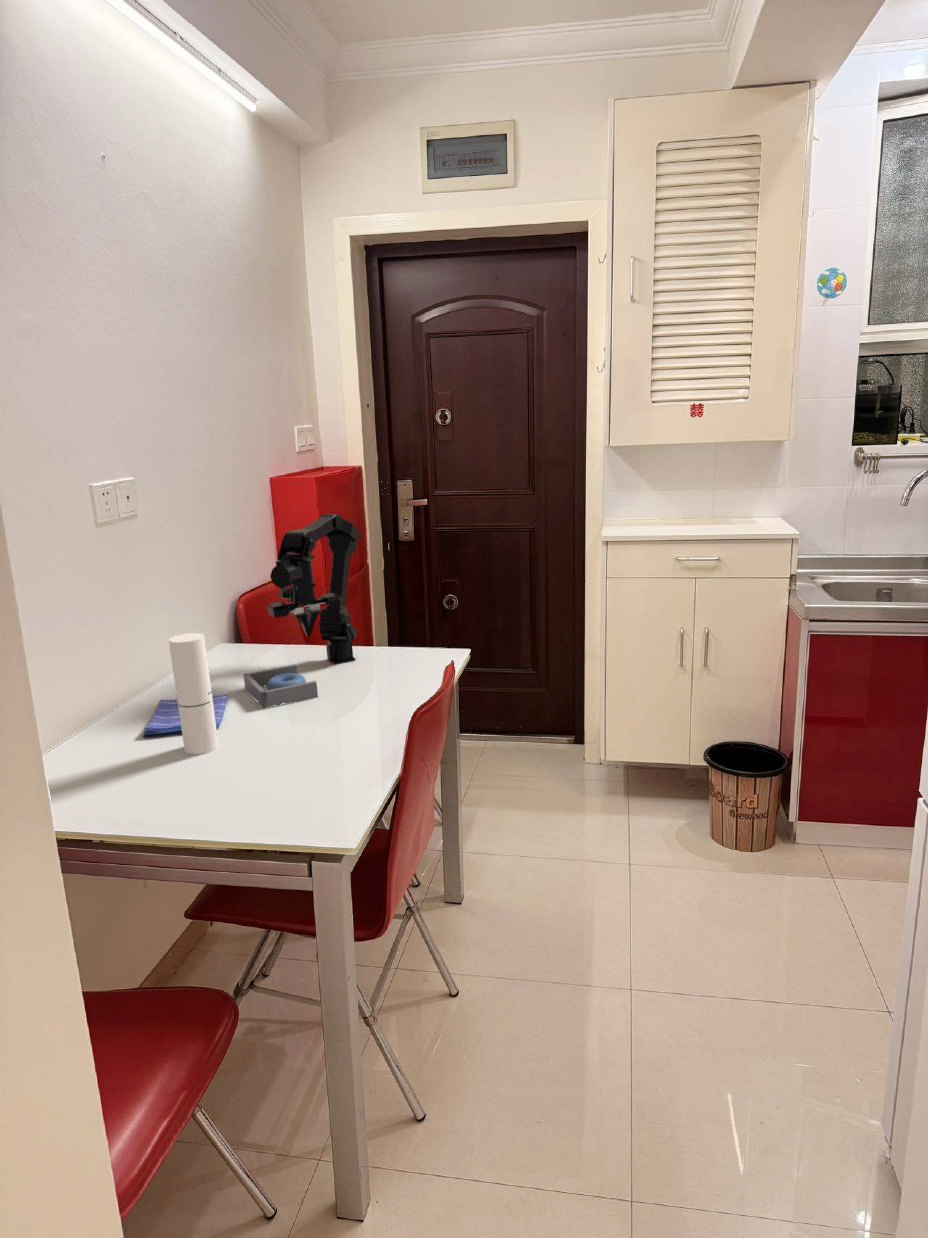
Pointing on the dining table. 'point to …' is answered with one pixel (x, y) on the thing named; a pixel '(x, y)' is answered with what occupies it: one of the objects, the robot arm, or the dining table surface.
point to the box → (280, 694)
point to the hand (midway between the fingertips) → (308, 636)
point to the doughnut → (285, 680)
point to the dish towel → (178, 717)
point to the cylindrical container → (194, 693)
